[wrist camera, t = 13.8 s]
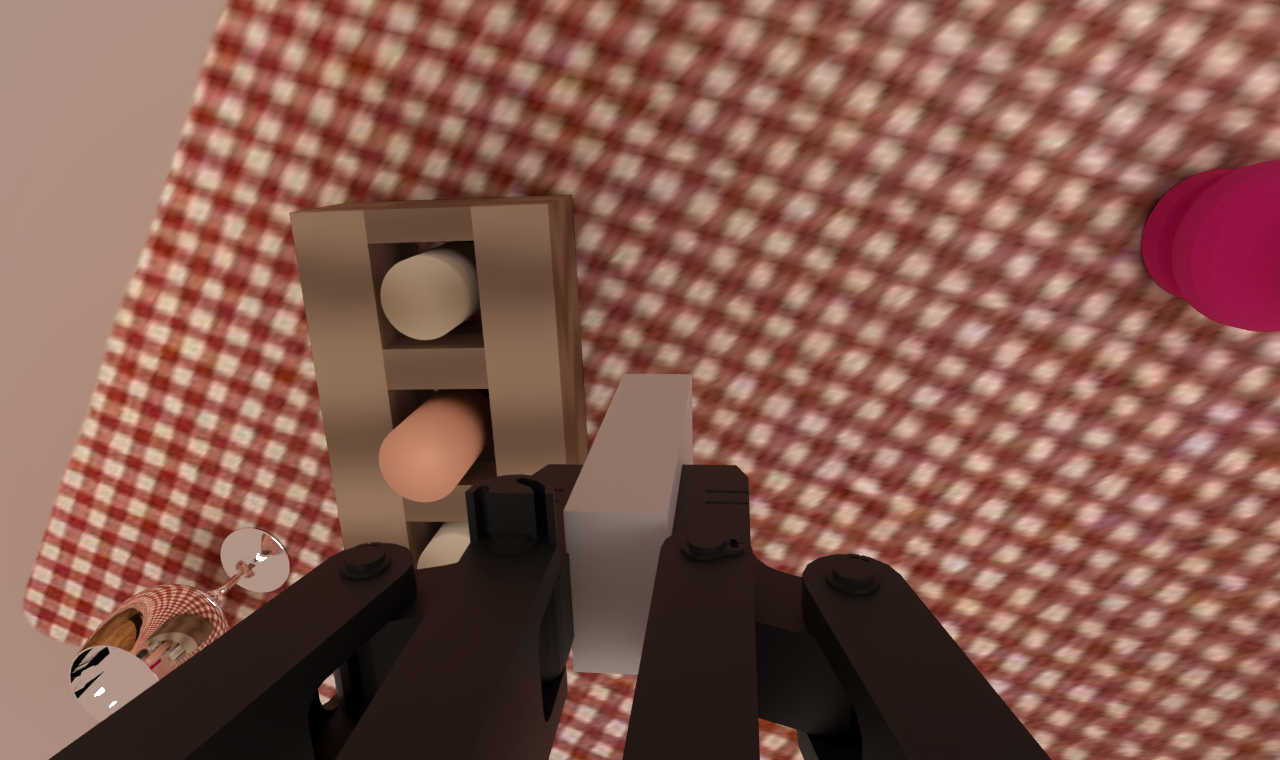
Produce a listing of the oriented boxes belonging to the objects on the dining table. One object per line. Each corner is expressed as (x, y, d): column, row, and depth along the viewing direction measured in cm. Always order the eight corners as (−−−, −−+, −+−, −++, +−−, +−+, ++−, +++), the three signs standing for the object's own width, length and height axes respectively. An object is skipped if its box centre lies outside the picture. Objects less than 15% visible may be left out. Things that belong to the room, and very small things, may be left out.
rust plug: (421, 384, 41) (373, 424, 36) (493, 383, 41) (456, 423, 35) (430, 453, 42) (384, 502, 37) (499, 453, 42) (465, 502, 36)
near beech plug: (422, 242, 42) (375, 258, 36) (493, 240, 41) (457, 256, 36) (430, 313, 43) (386, 340, 37) (500, 312, 42) (465, 339, 37)
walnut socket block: (347, 202, 42) (289, 212, 37) (571, 194, 41) (547, 203, 35) (400, 573, 49) (357, 631, 43) (596, 576, 47) (578, 636, 42)
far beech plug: (451, 489, 46) (412, 539, 40) (516, 489, 45) (487, 539, 40) (458, 548, 47) (421, 606, 41) (522, 549, 46) (494, 607, 41)
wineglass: (213, 507, 49) (57, 621, 37) (304, 530, 48) (175, 652, 37) (208, 588, 50) (57, 721, 39) (296, 611, 50) (170, 750, 39)
